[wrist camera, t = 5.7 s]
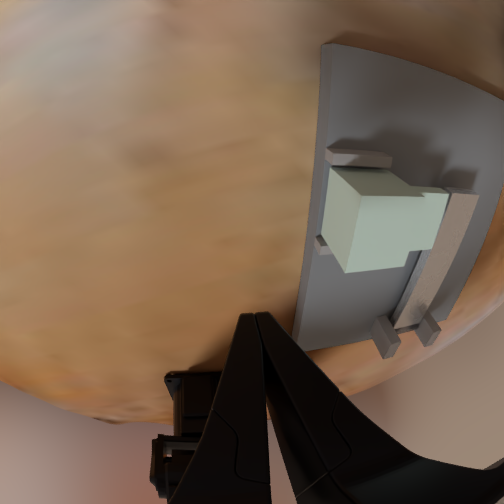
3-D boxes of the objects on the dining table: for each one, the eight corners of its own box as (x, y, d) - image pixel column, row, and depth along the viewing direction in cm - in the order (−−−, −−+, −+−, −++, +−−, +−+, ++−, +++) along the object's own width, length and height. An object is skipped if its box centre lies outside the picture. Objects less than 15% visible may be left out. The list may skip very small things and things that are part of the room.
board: (439, 310, 27) (459, 339, 23) (291, 339, 24) (303, 382, 21) (505, 104, 14) (546, 121, 10) (321, 45, 12) (362, 38, 8)
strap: (410, 322, 24) (415, 332, 23) (384, 328, 23) (389, 339, 22) (470, 187, 15) (481, 196, 14) (442, 185, 15) (454, 194, 14)
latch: (408, 229, 17) (439, 261, 14) (320, 234, 16) (344, 273, 14) (423, 172, 15) (461, 198, 12) (329, 167, 14) (361, 195, 11)
